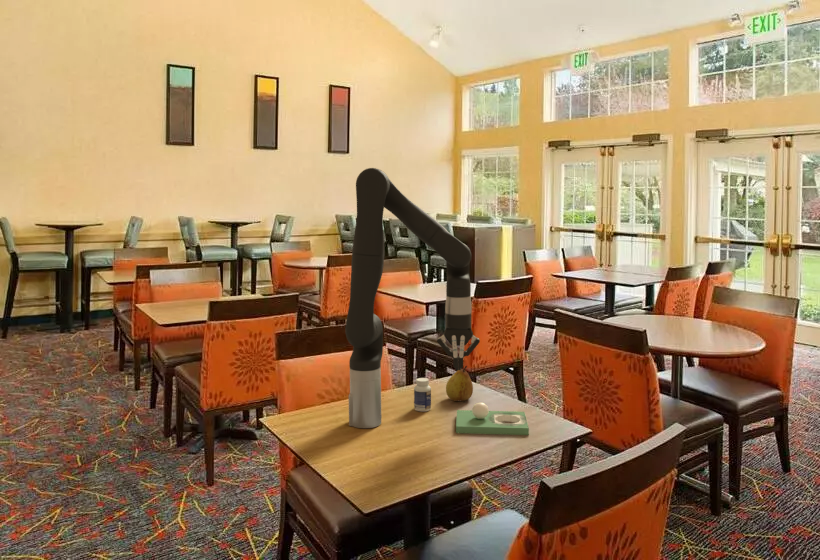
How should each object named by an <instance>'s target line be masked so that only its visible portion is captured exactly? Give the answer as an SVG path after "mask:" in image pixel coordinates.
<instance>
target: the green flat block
mask: <svg viewBox="0 0 820 560" xmlns="http://www.w3.org/2000/svg"><path fill="white" fill-rule="evenodd" d="M455 420H456V421H455V422H456V423H455V433H456V434H472V435H473V434H481V435H510V436H511V435H515V436H518V435H519V436H529V433H530V427H529V425H528V419H527V415H526V412H525V411H514V410H513V411H512V410H510V411H508V410H507V411H506V410H505V411H504V410H489V412H488V415H487V416H486V417H485V418H483V419H478V418H476V417H475V416H474V415H473V413H472V409H471V410H469V409H468V410H466V409H465V410H464V409H463V410H462V409H461V410H460V409H457V410H456V419H455ZM505 422H508V423H505ZM509 422H511V423H509Z"/></svg>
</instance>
